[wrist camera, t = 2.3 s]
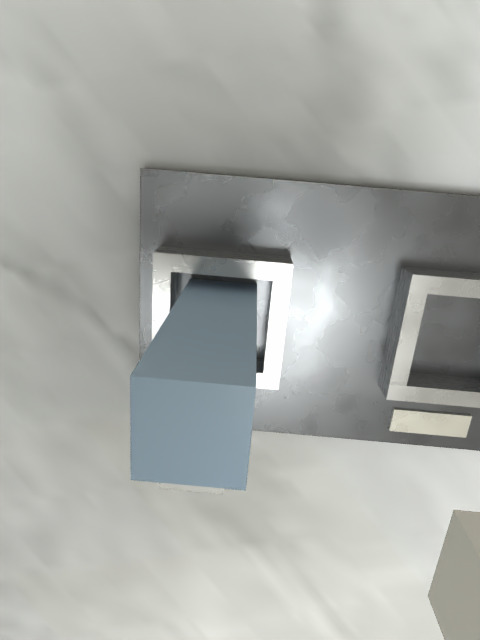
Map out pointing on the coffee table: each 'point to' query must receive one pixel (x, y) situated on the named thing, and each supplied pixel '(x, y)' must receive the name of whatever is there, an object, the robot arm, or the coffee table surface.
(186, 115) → the coffee table surface
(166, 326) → the plug
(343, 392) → the panel
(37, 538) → the coffee table surface
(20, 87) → the coffee table surface
